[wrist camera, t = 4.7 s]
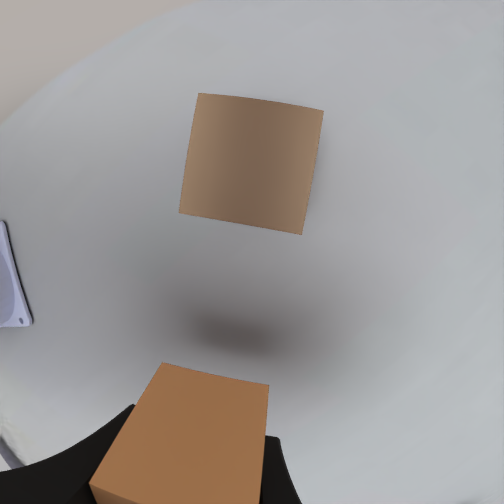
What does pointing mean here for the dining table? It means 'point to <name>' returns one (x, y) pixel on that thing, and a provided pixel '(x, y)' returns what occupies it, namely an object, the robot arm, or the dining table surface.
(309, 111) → the walnut block
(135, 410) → the orange block
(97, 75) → the dining table surface
